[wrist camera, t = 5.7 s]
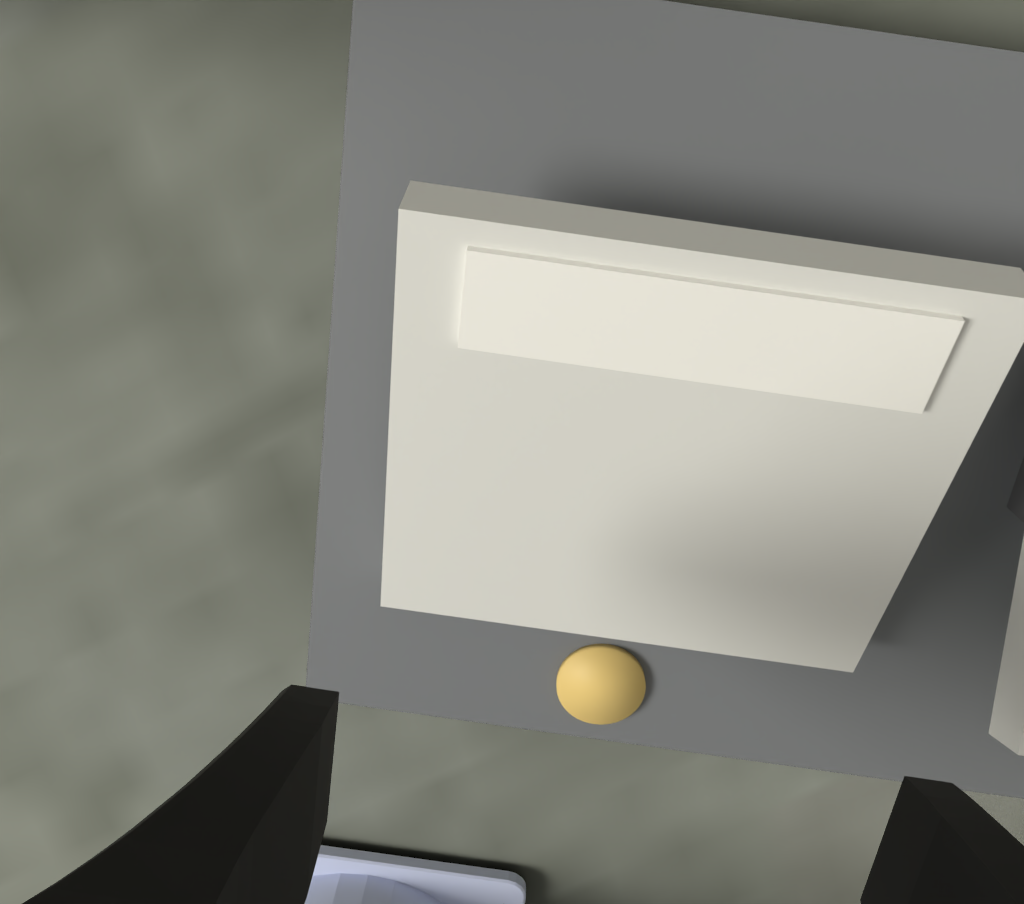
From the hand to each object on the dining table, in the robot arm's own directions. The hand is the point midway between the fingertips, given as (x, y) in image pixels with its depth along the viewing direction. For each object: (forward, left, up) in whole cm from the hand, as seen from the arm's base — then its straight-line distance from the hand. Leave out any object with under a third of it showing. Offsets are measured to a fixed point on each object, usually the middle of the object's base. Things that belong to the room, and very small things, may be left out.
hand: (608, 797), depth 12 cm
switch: (+3, -1, -5) cm, 6 cm away
